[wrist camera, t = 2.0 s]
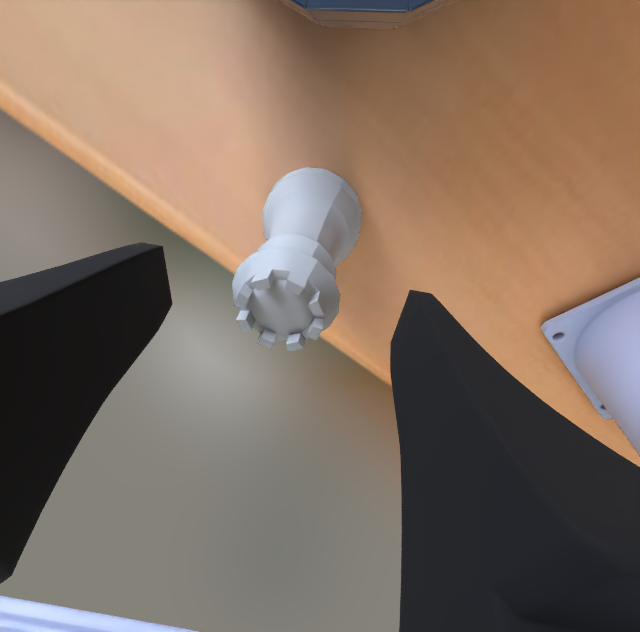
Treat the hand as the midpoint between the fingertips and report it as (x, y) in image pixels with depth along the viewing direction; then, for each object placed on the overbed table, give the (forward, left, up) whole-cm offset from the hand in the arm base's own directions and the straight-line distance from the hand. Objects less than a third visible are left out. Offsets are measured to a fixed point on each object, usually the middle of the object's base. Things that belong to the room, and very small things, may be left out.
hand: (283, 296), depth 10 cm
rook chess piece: (0, 0, -7) cm, 7 cm away
